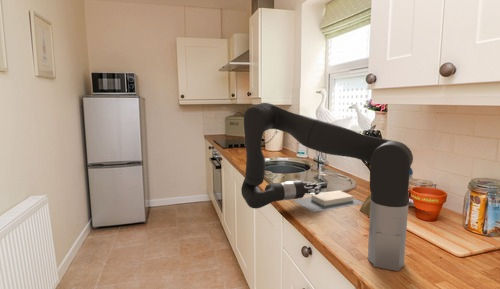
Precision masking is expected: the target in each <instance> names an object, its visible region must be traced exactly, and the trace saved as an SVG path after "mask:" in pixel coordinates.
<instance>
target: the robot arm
mask: <svg viewBox="0 0 500 289" xmlns="http://www.w3.org/2000/svg"><path fill="white" fill-rule="evenodd" d="M243 129H244V130H243V131H244V140H245V142H244V143H245V153H246V161H245V175H244V176H245V177H244V180H243V182H242V185H241V196H242V198H243V199H244V201H245V204H247V206H248V207H249V208H251V209H255V210H257V209H261V208H263V207H265V206H267V205H270V204H272V203H273V202H274V203H275V202H280V201H281V202H282V201H293V200H297V199H303V198H304V196H305V195H306V194H307V195H309V194H311V193H313V194H315V195H318V194H319V193H322V190H323V189H327V188H328V183H326V182H314V181H306V180H303V181H302V180H300V179H294V180H286V181H285V180H284V181H282V182H276V183H275V182H274V183H270V184H267V185H266V186H265V187H264V191H261V188H260V185H262V184H263V182H264V180H265V173H266V159H265V156H264V153H263V150H262V139H263V136H264V135H263V134H264V132H266V131H269V130H272V129H273V130H277V131H281V132H283V133H286V134H289V135H290V136H291V137H293V138H294V139H295V140H296V141H297V142H298V143H299V144H300V145H302V146H304V147H306V148H308V149H311V150H313V151H316V152H319V153H322V154H326V155H332V156H339V157H346V158H354V159H357V160H361V161H363V162H366V163H368V164H370V166H369V192H370V193H371V205H370V215H369V217H370V218H369V222H368V223H369V226H368V247H367V248H368V249H367V250H368V251H367V259H368V261H369V262H370V263H371V264H372V265H373V267H374V268H379V269H385V270H390V271H395V272H399V271H400V269H402V268H404V266H405V259H406V255H405V254H406V242H407V231H408V230H407V228H408V227H407V226H408V213H409V204H410V203H409V192H408V186H409V171H410V167H411V166H412V164H413V162H414V155H413V153H412V151H411V149H410V148H409V147H408V146H407V145H406V144H405V143H403V142H400V141H397V140H392V139H386V138H379V137H375V136H370V135H366V134H363V133H359V132H356V131H355V130H352V129H349V128H346V127H344V126H341V125H338V124H335V123H332V122H329V121H325V120H322V119H318V118H313V117H310V116H306V115H303V114H299V113H296V112H292V111H289V110H287V109H285V108H282V107H279V106H278V105H275V104H272V103H269V102H261V103H259V104H256V105H253V106H251V107H248V108H247V109H246V110H245V112H244V115H243ZM408 203H409V204H408Z"/></svg>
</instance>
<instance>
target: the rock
mask: <svg viewBox="0 0 500 289" xmlns="http://www.w3.org/2000/svg"><path fill="white" fill-rule="evenodd" d="M370 205H371V192H370V193H369V195H368V196H367V197H366V199H365V200H364V203H363V204H361V207H360V208H359V212H362V213H364V214H365V215H367V218H368V219H370Z"/></svg>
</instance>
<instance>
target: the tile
mask: <svg viewBox="0 0 500 289" xmlns="http://www.w3.org/2000/svg"><path fill="white" fill-rule="evenodd" d="M311 197H312V198H311V200H312V201H314V202H316V203H318V204H320V205H322V206H323V207H326V206H332V205H337V204H343V203H349V202H353V198H354V195H351V194H349V193H346V192H344V191H341V190H334V191H327V192H320V193H319V194H318V195H315V193H313V194H311Z"/></svg>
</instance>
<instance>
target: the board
mask: <svg viewBox="0 0 500 289" xmlns="http://www.w3.org/2000/svg"><path fill="white" fill-rule="evenodd" d="M311 198H312V196H311V197H310V196H309V197H302V198H299V199H292V201H293V202H294V203H297V204H299V206H302V207H303V208H305V209H307V210H308V211H310V212H312V213H320V212H324V211H331V210H334V209H335V210H336V209H341V208H346V207H351V206H352V207H353V206H358V205H362V204H363V203H364V202H365V201H364V202H363V201H361V200H360V199H356V198H355V197H353V202H349V203H343V204H337V205H332V206H326V207H323V206H322V205H320V204H318V203H316V202H314V201H312V200H311Z"/></svg>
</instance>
